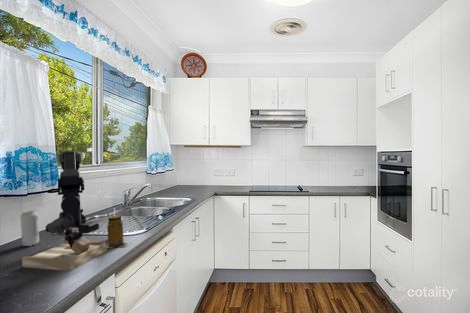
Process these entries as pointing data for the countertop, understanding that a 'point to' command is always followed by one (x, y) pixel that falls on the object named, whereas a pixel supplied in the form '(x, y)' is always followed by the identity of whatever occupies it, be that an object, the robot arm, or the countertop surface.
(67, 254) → the box
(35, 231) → the energy drink can
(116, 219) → the condiment
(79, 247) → the walnut block
